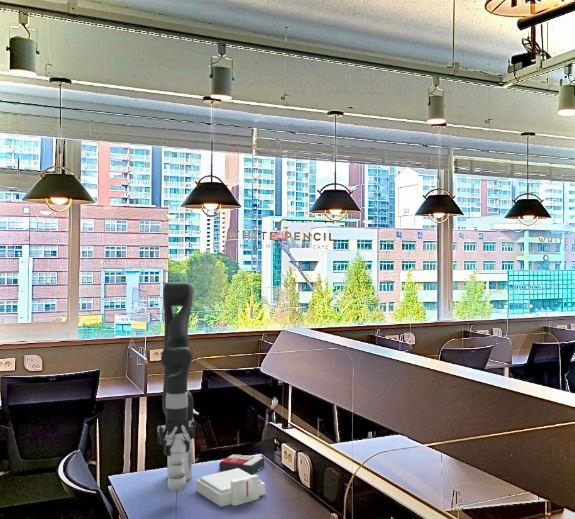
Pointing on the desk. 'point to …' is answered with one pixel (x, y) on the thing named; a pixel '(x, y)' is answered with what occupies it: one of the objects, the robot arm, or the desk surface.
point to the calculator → (242, 463)
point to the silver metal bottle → (177, 464)
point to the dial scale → (230, 487)
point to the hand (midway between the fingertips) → (176, 453)
